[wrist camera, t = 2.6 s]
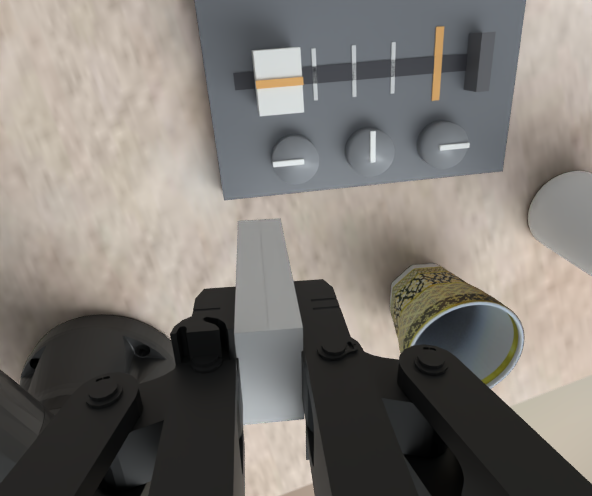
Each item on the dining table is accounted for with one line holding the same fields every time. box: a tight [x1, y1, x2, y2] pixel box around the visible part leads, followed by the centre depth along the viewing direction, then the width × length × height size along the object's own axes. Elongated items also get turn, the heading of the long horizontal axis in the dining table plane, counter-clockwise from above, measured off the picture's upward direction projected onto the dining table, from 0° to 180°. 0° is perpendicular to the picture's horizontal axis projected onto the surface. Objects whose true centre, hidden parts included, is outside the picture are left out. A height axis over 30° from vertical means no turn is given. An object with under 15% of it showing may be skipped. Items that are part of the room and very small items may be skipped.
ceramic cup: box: [390, 263, 524, 389], centre depth 40 cm, size 13×10×10 cm
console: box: [194, 0, 526, 200], centre depth 33 cm, size 24×16×4 cm, turn 94°
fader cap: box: [252, 47, 304, 116], centre depth 30 cm, size 3×4×4 cm
